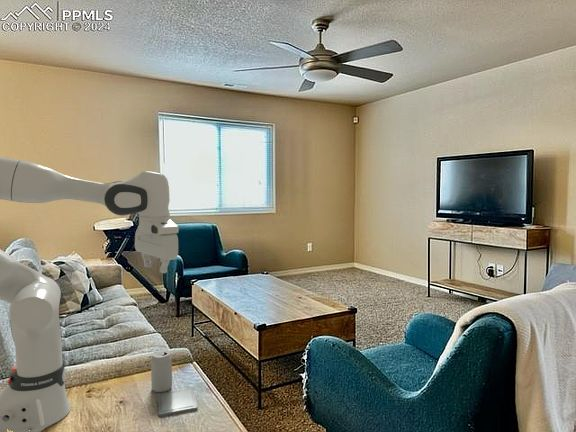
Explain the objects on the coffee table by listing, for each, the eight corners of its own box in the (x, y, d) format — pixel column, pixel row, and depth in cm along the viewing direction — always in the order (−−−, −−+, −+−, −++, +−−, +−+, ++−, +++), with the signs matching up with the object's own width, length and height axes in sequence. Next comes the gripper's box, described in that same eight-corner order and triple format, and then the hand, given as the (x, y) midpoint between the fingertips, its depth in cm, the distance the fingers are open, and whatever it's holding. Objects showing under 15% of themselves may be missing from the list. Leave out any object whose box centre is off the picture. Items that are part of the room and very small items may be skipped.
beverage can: (168, 394, 125) (168, 358, 124) (148, 393, 125) (147, 357, 124) (174, 383, 131) (174, 349, 130) (155, 382, 132) (155, 348, 130)
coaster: (158, 416, 113) (158, 413, 113) (157, 396, 124) (157, 393, 124) (197, 409, 117) (197, 406, 117) (193, 390, 127) (193, 387, 127)
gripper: (128, 222, 124) (130, 265, 125) (162, 229, 110) (163, 278, 111) (147, 221, 128) (148, 262, 130) (182, 227, 114) (182, 274, 116)
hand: (155, 269), depth 120 cm, fingers open, 8 cm apart
